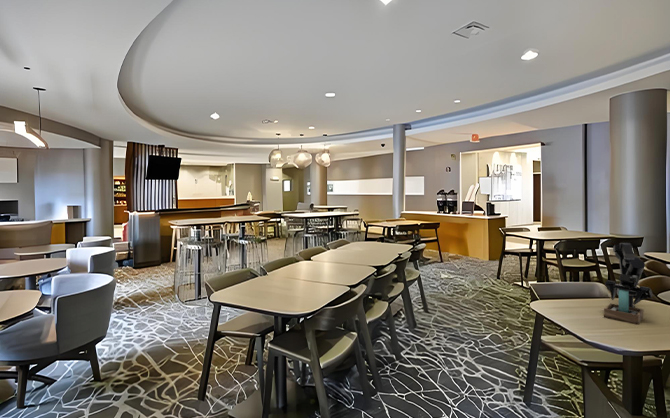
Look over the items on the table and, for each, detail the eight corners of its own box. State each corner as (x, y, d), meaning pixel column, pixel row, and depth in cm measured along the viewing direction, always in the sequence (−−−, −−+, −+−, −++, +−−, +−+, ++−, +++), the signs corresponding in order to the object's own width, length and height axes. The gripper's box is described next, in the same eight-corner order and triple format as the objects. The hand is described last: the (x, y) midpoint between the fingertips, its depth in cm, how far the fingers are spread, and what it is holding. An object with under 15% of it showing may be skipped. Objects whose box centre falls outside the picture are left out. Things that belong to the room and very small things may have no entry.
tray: (610, 311, 190) (610, 303, 190) (643, 318, 179) (643, 309, 179) (603, 317, 181) (604, 308, 181) (638, 324, 171) (638, 315, 170)
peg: (619, 313, 183) (619, 289, 183) (629, 315, 180) (629, 291, 180) (617, 315, 180) (617, 290, 180) (627, 317, 177) (627, 292, 177)
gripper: (606, 265, 189) (597, 288, 184) (651, 272, 173) (641, 297, 168) (612, 278, 194) (603, 300, 188) (656, 285, 178) (647, 310, 172)
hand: (622, 301), depth 179 cm, fingers open, 9 cm apart
